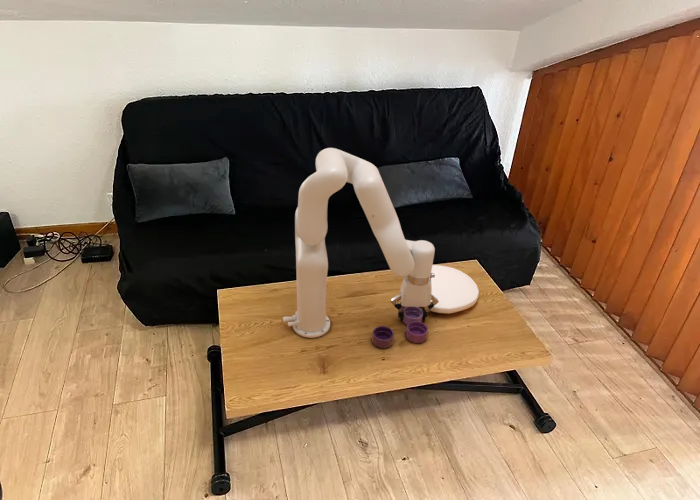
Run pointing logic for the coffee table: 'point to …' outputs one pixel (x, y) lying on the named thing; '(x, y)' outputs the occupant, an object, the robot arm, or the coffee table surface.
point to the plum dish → (416, 332)
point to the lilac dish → (412, 314)
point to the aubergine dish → (382, 336)
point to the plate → (452, 290)
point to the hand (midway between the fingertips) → (411, 318)
